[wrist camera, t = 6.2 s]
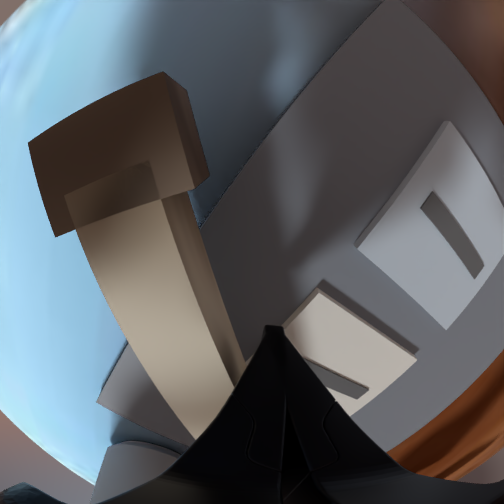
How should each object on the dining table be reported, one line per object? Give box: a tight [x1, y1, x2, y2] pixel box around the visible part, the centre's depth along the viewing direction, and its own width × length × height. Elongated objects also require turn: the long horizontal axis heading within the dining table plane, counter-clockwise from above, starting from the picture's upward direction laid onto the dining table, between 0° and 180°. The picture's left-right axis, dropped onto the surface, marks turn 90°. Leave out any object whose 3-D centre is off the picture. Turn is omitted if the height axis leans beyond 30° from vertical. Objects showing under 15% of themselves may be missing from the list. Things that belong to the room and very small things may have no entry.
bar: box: [28, 72, 247, 440], centre depth 9 cm, size 20×4×4 cm, turn 14°
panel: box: [97, 0, 504, 452], centre depth 12 cm, size 20×24×1 cm
